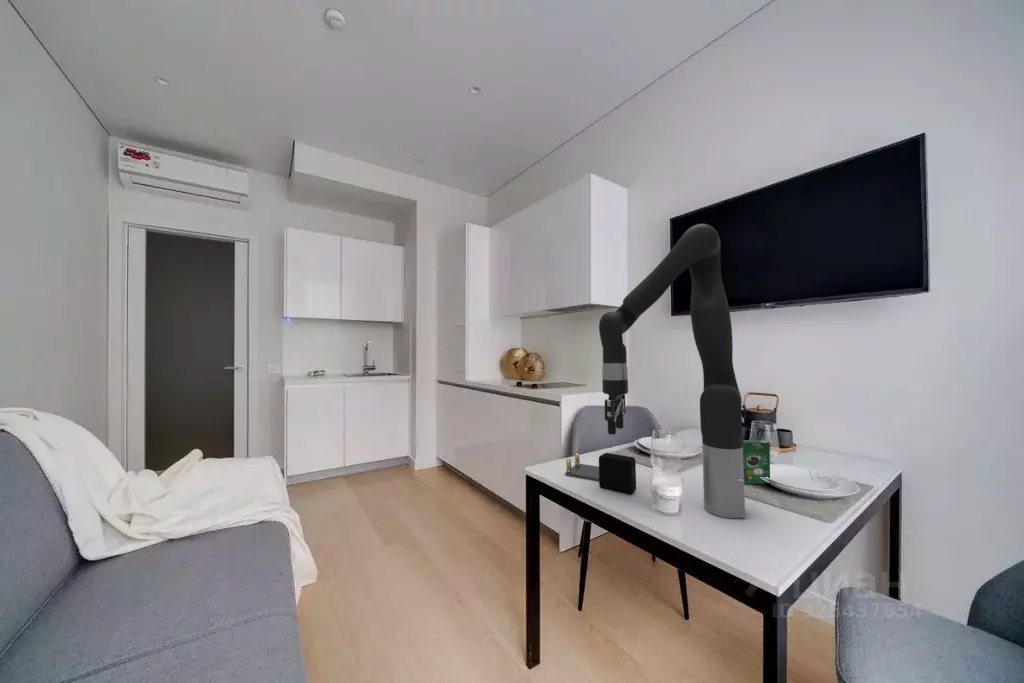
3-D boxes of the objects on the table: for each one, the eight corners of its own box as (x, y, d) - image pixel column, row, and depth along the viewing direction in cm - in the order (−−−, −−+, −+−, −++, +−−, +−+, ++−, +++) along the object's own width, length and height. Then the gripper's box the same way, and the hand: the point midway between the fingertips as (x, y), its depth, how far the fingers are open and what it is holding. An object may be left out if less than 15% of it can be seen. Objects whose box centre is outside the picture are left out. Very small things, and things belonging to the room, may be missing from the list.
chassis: (619, 472, 125) (619, 458, 125) (610, 483, 116) (609, 467, 116) (576, 465, 133) (576, 452, 133) (565, 475, 124) (564, 460, 124)
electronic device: (631, 495, 106) (630, 461, 106) (599, 488, 112) (598, 455, 112) (636, 490, 110) (635, 457, 110) (604, 483, 116) (603, 452, 116)
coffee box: (765, 481, 115) (764, 439, 115) (771, 484, 112) (770, 441, 112) (739, 481, 115) (738, 439, 115) (744, 484, 112) (743, 441, 112)
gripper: (621, 380, 103) (622, 438, 103) (633, 376, 115) (634, 427, 115) (595, 379, 107) (596, 435, 107) (609, 375, 119) (610, 425, 119)
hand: (616, 431), depth 111 cm, fingers open, 8 cm apart
